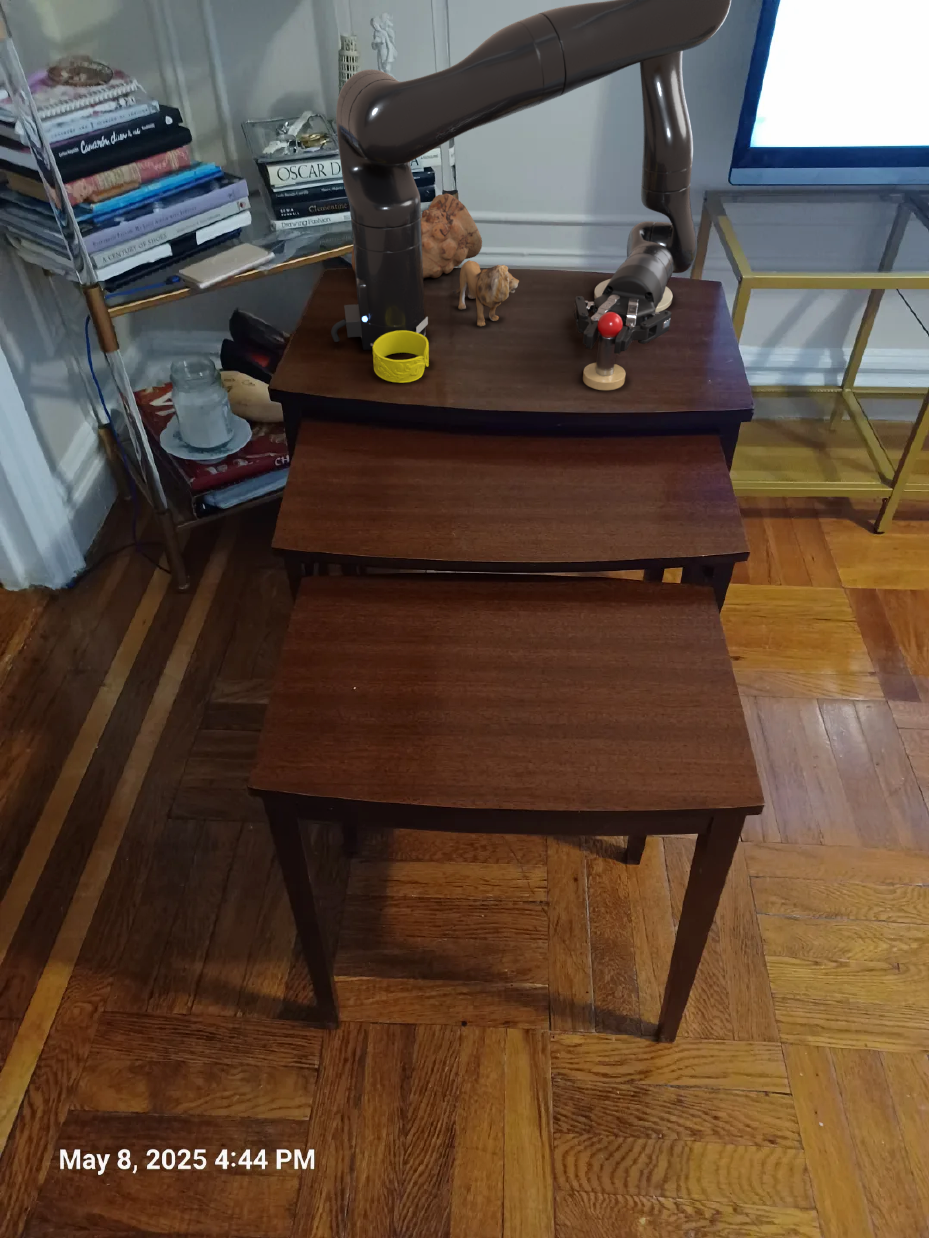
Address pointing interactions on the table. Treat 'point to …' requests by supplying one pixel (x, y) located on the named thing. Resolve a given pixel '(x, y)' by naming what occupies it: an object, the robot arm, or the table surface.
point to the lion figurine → (485, 287)
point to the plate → (661, 306)
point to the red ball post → (606, 356)
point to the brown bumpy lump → (446, 236)
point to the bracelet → (400, 344)
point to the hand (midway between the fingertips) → (603, 344)
